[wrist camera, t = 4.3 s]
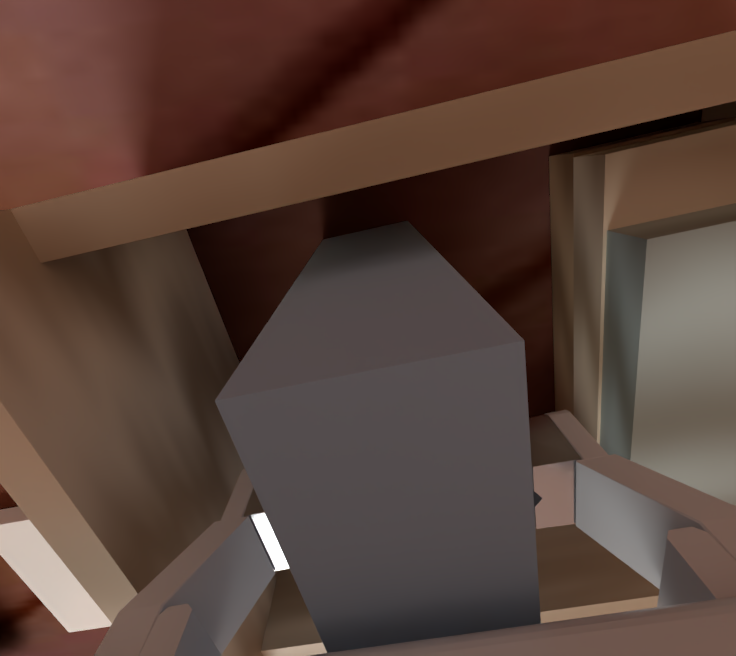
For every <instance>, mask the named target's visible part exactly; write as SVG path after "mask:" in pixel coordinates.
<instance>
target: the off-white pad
mask: <svg viewBox="0 0 736 656" xmlns="http://www.w3.org/2000/svg"><path fill="white" fill-rule="evenodd" d="M0 555H1V556H2V557H3V558H4V560H5V561H6V562H7V563H8V564H9V565H10V566H11V568H12V569H13V570H14V571H15V572H16V573H17V574H18V575H19V577H20V578H21V579H22V580H23V581H24V582H25V583H26V584H27V586H28V587H29V588H30V589H31V590H32V591H33V592H34V594H35V595H36V596H37V597H38V598H39V599H40V600H41V601H42V603H43V604H44V605H45V606H46V607H47V608H48V609H49V610H50V612H51V613H52V614H53V615H54V616H55V617H56V618H57V620H58V621H59V622H60V623H61V624H62V625H63V626H64V627H65V629H66V630H67V631H68V632H76V631H82V630H89V629H96V628H102V627H109V626H111V625H112V623H111V622H110V620H109V619H108V618H107V617H106V615H105V614H104V613H103V612H102V610H101V609H100V608H99V607H98V605H97V604H96V603H95V602H94V600H93V599H92V598H91V597H90V595H89V594H88V593H87V592H86V590H85V589H84V588H83V587H82V585H81V584H80V583H79V582H78V580H77V579H76V578H75V577H74V575H73V574H72V573H71V572H70V570H69V569H68V568H67V566H66V565H65V564H64V563H63V561H62V560H61V559H60V558H59V556H58V555H57V554H56V553H55V551H54V550H53V549H52V548H51V546H50V545H49V544H48V543H47V541H46V540H45V539H44V538H43V536H42V535H41V534H40V533H39V531H38V530H37V529H36V528H35V526H34V525H33V524H32V523H31V521H30V520H29V519H28V518H27V516H26V515H25V514H24V513H23V511H22V510H21V509H20V507H19V506H18V507H12V508H7V509H1V510H0Z"/></svg>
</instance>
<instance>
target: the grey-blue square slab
mask: <svg viewBox="0 0 736 656" xmlns="http://www.w3.org/2000/svg"><path fill="white" fill-rule="evenodd" d="M215 403H216V405H217V407H218V410H219V412H220V414H221V416H222V419H223V421H224V423H225V425H226V427H227V430H228V432H229V434H230V436H231V439H232V441H233V443H234V445H235V448H236V450H237V452H238V454H239V457H240V459H241V461H242V463H243V465H244V468H245V470H246V472H247V474H248V477H249V479H250V481H251V483H252V486H253V488H254V490H255V492H256V495H257V497H258V499H259V501H260V503H261V506H262V508H263V510H264V512H265V515H266V517H267V519H268V521H269V524H270V526H271V528H272V530H273V533H274V535H275V537H276V539H277V541H278V544H279V546H280V548H281V550H282V553H283V555H284V557H285V559H286V562H287V564H288V566H289V568H290V571H291V573H292V575H293V577H294V579H295V582H296V584H297V586H298V588H299V591H300V593H301V595H302V597H303V600H304V602H305V604H306V606H307V609H308V611H309V613H310V615H311V617H312V620H313V622H314V624H315V626H316V629H317V631H318V633H319V635H320V638H321V640H322V642H323V644H324V647H325V649H326V651H327V653H330V652H338V651H345V650H352V649H359V648H367V647H374V646H381V645H388V644H396V643H403V642H410V641H418V640H425V639H432V638H439V637H447V636H454V635H461V634H468V633H475V632H483V631H490V630H497V629H504V628H511V627H518V626H526V625H533V624H540V623H541V617H540V600H539V583H538V566H537V548H536V531H535V514H534V497H533V480H532V463H531V446H530V429H529V412H528V395H527V377H526V360H525V343H524V340H523V339H522V338H521V336H520V335H519V334H518V333H517V332H516V331H515V330H514V329H513V328H512V327H511V326H510V325H509V324H508V323H507V322H506V321H505V320H504V319H503V318H502V317H501V316H500V315H499V314H498V313H497V312H496V311H495V310H494V309H493V308H492V307H491V306H490V305H489V304H488V303H487V302H486V301H485V300H484V299H483V297H482V296H481V295H480V294H479V293H478V292H477V291H476V290H475V289H474V288H473V287H472V286H471V285H470V284H469V283H468V282H467V281H466V280H465V279H464V278H463V277H462V276H461V275H460V274H459V273H458V272H457V271H456V270H455V269H454V268H453V267H452V266H451V265H450V264H449V263H448V262H447V261H446V260H445V258H444V257H443V256H442V255H441V254H440V253H439V252H438V251H437V250H436V249H435V248H434V247H433V246H432V245H431V244H430V243H429V242H428V241H427V240H426V239H425V238H424V237H423V236H422V235H421V234H420V233H419V232H418V231H417V230H416V229H415V228H414V227H413V226H412V225H411V224H410V223H409V222H408V221H403V222H399V223H394V224H390V225H385V226H381V227H376V228H372V229H367V230H363V231H359V232H354V233H350V234H345V235H341V236H336V237H332V238H327V239H323V240H322V242H321V243H320V245H319V246H318V248H317V249H316V251H315V252H314V254H313V255H312V257H311V258H310V260H309V261H308V263H307V264H306V266H305V267H304V269H303V270H302V272H301V273H300V275H299V276H298V277H297V279H296V280H295V282H294V283H293V285H292V286H291V288H290V289H289V291H288V292H287V294H286V295H285V297H284V298H283V300H282V301H281V303H280V304H279V306H278V307H277V309H276V310H275V312H274V313H273V315H272V316H271V318H270V319H269V321H268V322H267V324H266V325H265V327H264V328H263V330H262V331H261V333H260V334H259V335H258V337H257V338H256V340H255V341H254V343H253V344H252V346H251V347H250V349H249V350H248V352H247V353H246V355H245V356H244V358H243V359H242V361H241V362H240V364H239V365H238V367H237V368H236V370H235V371H234V373H233V374H232V376H231V377H230V379H229V380H228V382H227V383H226V385H225V386H224V388H223V389H222V391H221V392H220V393H219V395H218V396H217V398H216V399H215Z"/></svg>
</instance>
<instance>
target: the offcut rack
mask: <svg viewBox="0 0 736 656" xmlns="http://www.w3.org/2000/svg"><path fill="white" fill-rule="evenodd" d="M699 109H702V118H701V122H704V121H710V120H716V119H722V118H728V117H735V116H736V30H735V31H731V32H726V33H722V34H718V35H714V36H710V37H706V38H702V39H698V40H694V41H690V42H686V43H682V44H678V45H674V46H670V47H666V48H662V49H658V50H654V51H650V52H645V53H641V54H637V55H633V56H629V57H625V58H621V59H617V60H613V61H609V62H605V63H601V64H597V65H593V66H589V67H585V68H581V69H577V70H573V71H569V72H564V73H560V74H556V75H552V76H548V77H544V78H540V79H536V80H532V81H528V82H524V83H520V84H516V85H512V86H508V87H504V88H500V89H496V90H492V91H488V92H483V93H479V94H475V95H471V96H467V97H463V98H459V99H455V100H451V101H447V102H443V103H439V104H435V105H431V106H427V107H423V108H419V109H415V110H411V111H407V112H402V113H398V114H394V115H390V116H386V117H382V118H378V119H374V120H370V121H366V122H362V123H358V124H354V125H350V126H346V127H342V128H338V129H334V130H330V131H326V132H321V133H317V134H313V135H309V136H305V137H301V138H297V139H293V140H289V141H285V142H281V143H277V144H273V145H269V146H265V147H261V148H257V149H253V150H249V151H245V152H240V153H236V154H232V155H228V156H224V157H220V158H216V159H212V160H208V161H204V162H200V163H196V164H192V165H188V166H184V167H180V168H176V169H172V170H168V171H164V172H159V173H155V174H151V175H147V176H143V177H139V178H135V179H131V180H127V181H123V182H119V183H115V184H111V185H107V186H103V187H99V188H95V189H91V190H87V191H83V192H78V193H74V194H70V195H66V196H62V197H58V198H54V199H50V200H46V201H42V202H38V203H34V204H30V205H26V206H22V207H18V208H14V209H9V210H0V484H1V485H2V486H3V487H4V489H5V490H6V491H7V492H8V494H9V495H10V496H11V497H12V499H13V500H14V501H15V502H16V504H17V505H18V506H19V507H20V509H21V510H22V511H23V513H24V514H25V515H26V516H27V518H28V519H29V520H30V521H31V523H32V524H33V525H34V526H35V528H36V529H37V530H38V531H39V533H40V534H41V535H42V536H43V538H44V539H45V540H46V541H47V543H48V544H49V545H50V546H51V548H52V549H53V550H54V551H55V553H56V554H57V555H58V556H59V558H60V559H61V560H62V561H63V563H64V564H65V565H66V566H67V568H68V569H69V570H70V572H71V573H72V574H73V575H74V577H75V578H76V579H77V580H78V582H79V583H80V584H81V585H82V587H83V588H84V589H85V590H86V592H87V593H88V594H89V595H90V597H91V598H92V599H93V600H94V602H95V603H96V604H97V605H98V607H99V608H100V609H101V610H102V612H103V613H104V614H105V615H106V617H107V618H108V619H109V620H110V622H111V623H113V621H114V620H115V618H116V616H117V614H118V612H119V611H120V610H121V609H122V608H124V607H125V606H126V605H127V604H128V603H129V602H130V601H131V600H132V599H133V598H134V597H135V596H136V595H137V594H138V593H139V592H141V591H142V590H143V589H144V588H145V587H146V586H147V585H148V584H149V583H150V582H151V581H152V580H153V579H154V578H155V577H156V576H158V575H159V574H160V573H161V572H162V571H163V570H164V569H165V568H166V567H167V566H168V565H169V564H170V563H171V562H172V561H173V560H175V559H176V558H177V557H178V556H179V555H180V554H181V553H182V552H183V551H184V550H185V549H186V548H187V547H188V546H189V545H190V544H192V543H193V542H194V541H195V540H196V539H197V538H198V537H199V536H200V535H201V534H202V533H203V532H204V531H205V530H206V529H207V528H209V527H210V526H211V525H212V524H213V523H214V522H217V521H221V518H222V516H223V514H224V511H225V509H226V506H227V504H228V502H229V499H230V497H231V495H232V492H233V490H234V488H235V485H236V483H237V481H238V478H239V476H240V473H241V471H242V470H243V469H244V465H243V463H242V461H241V459H240V457H239V454H238V452H237V450H236V448H235V445H234V443H233V441H232V439H231V436H230V434H229V432H228V430H227V427H226V425H225V423H224V421H223V419H222V416H221V414H220V412H219V410H218V407H217V405H216V403H215V399H216V398H217V396H218V395H219V393H220V392H221V391H222V389H223V388H224V386H225V385H226V383H227V382H228V380H229V379H230V377H231V376H232V374H233V373H234V371H235V370H236V368H237V367H238V365H239V364H240V363H239V361H238V358H237V356H236V353H235V351H234V348H233V346H232V343H231V341H230V338H229V335H228V333H227V330H226V328H225V325H224V323H223V320H222V318H221V315H220V313H219V310H218V308H217V305H216V303H215V300H214V298H213V295H212V293H211V290H210V288H209V285H208V283H207V280H206V278H205V275H204V273H203V270H202V268H201V265H200V263H199V260H198V258H197V255H196V253H195V250H194V248H193V245H192V243H191V240H190V238H189V235H188V233H187V230H186V229H189V228H193V227H197V226H202V225H206V224H210V223H215V222H219V221H223V220H227V219H232V218H236V217H240V216H245V215H249V214H253V213H257V212H262V211H266V210H270V209H275V208H279V207H283V206H288V205H292V204H296V203H300V202H305V201H309V200H313V199H318V198H322V197H326V196H330V195H335V194H339V193H343V192H348V191H352V190H356V189H360V188H365V187H369V186H373V185H378V184H382V183H386V182H390V181H395V180H399V179H403V178H408V177H412V176H416V175H420V174H425V173H429V172H433V171H438V170H442V169H446V168H450V167H455V166H459V165H463V164H468V163H472V162H476V161H480V160H485V159H489V158H493V157H498V156H502V155H506V154H510V153H515V152H519V151H523V150H528V149H532V148H536V147H540V146H545V145H549V144H553V143H558V142H562V141H566V140H570V139H575V138H579V137H583V136H588V135H592V134H596V133H600V132H605V131H609V130H613V129H618V128H622V127H626V126H630V125H635V124H639V123H643V122H648V121H652V120H656V119H660V118H665V117H669V116H673V115H678V114H682V113H686V112H690V111H695V110H699ZM535 531H536V548H537V566H538V583H539V600H540V617H541V623H547V622H554V621H561V620H569V619H576V618H583V617H590V616H597V615H605V614H612V613H619V612H626V611H633V610H641V609H648V608H655V607H657V603H658V596H659V589H658V588H657V587H656V586H654V585H653V584H652V583H650V582H649V581H648V580H647V579H645V578H644V577H643V576H641V575H640V574H639V573H637V572H636V571H635V570H633V569H632V568H631V567H629V566H628V565H627V564H625V563H624V562H623V561H621V560H620V559H619V558H617V557H616V556H615V555H614V554H612V553H611V552H610V551H608V550H607V549H606V548H604V547H603V546H602V545H600V544H599V543H598V542H596V541H595V540H594V539H592V538H591V537H590V536H588V535H587V534H586V533H584V532H583V531H582V530H581V529H579V528H578V527H577V526H576V524H571V525H563V526H555V527H547V528H539V529H536V527H535ZM323 653H327V651H326V649H325V647H324V644H323V642H322V640H321V638H320V635H319V633H318V631H317V629H316V626H315V624H314V622H313V620H312V617H311V615H310V613H309V611H308V609H307V606H306V604H305V602H304V600H303V597H302V595H301V593H300V591H299V588H298V586H297V584H296V582H295V579H294V577H293V575H292V573H291V571H290V568H288V569H283V570H277V571H275V574H274V576H273V577H272V579H271V580H270V582H269V584H268V585H267V587H266V588H265V590H264V591H263V593H262V594H261V596H260V597H259V599H258V600H257V602H256V603H255V605H254V606H253V608H252V609H251V611H250V612H249V614H248V615H247V617H246V618H245V620H244V621H243V623H242V624H241V626H240V627H239V629H238V630H237V632H236V633H235V635H234V636H233V638H232V639H231V641H230V642H229V644H228V645H227V647H226V648H225V650H224V652H223V653H222V656H309V655H316V654H323Z"/></svg>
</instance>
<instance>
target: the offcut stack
mask: <svg viewBox="0 0 736 656" xmlns="http://www.w3.org/2000/svg"><path fill="white" fill-rule="evenodd" d="M549 180H550V222H551V263H552V304H553V345H554V387H555V412H556V411H561V410H568V411H570V412H571V413H572V415H573V416H574V417H575V418H576V419H577V420H578V421H579V422H580V424H581V425H582V426H583V427H584V428H585V429H586V430H587V431H588V433H589V434H590V435H591V436H592V437H593V438H594V439H595V440H596V442H597V443H598V444H599V445H600V446H601V447H602V448H603V449H604V450H605V452H606V453H607V454H608V455H613V454H616V455H619V456H621V457H623V458H626V459H628V460H630V461H633V462H635V463H637V464H639V465H642V466H644V467H646V468H649V469H651V470H653V471H656V472H658V473H660V474H663V475H665V476H667V477H669V478H672V479H674V480H676V481H679V482H681V483H683V484H686V485H688V486H690V487H693V488H695V489H697V490H699V491H702V492H704V493H706V494H709V495H711V496H713V497H716V498H718V499H720V500H723V501H725V502H727V503H729V504H732V505H734V506H736V116H735V117H728V118H722V119H716V120H710V121H704V122H698V123H692V124H687V125H683V126H678V127H674V128H670V129H665V130H661V131H657V132H652V133H648V134H644V135H639V136H635V137H631V138H626V139H622V140H618V141H613V142H609V143H605V144H600V145H596V146H592V147H587V148H583V149H579V150H574V151H570V152H566V153H562V154H557V155H553V156H549Z"/></svg>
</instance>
